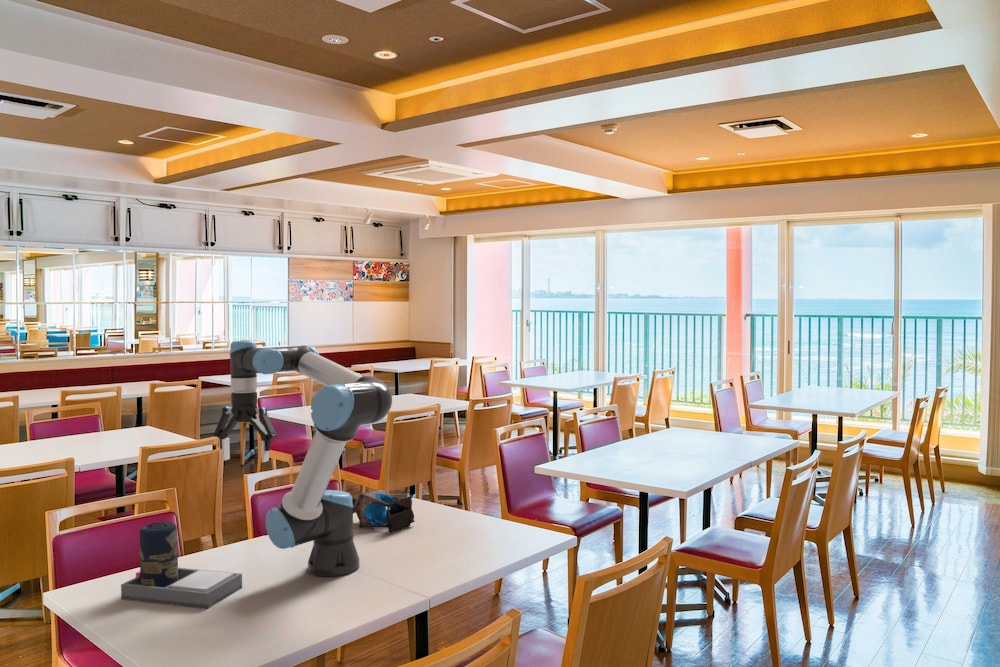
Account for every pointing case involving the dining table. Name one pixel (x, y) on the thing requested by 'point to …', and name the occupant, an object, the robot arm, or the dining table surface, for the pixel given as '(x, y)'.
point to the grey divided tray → (186, 588)
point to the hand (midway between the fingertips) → (245, 460)
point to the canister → (158, 554)
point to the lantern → (383, 510)
